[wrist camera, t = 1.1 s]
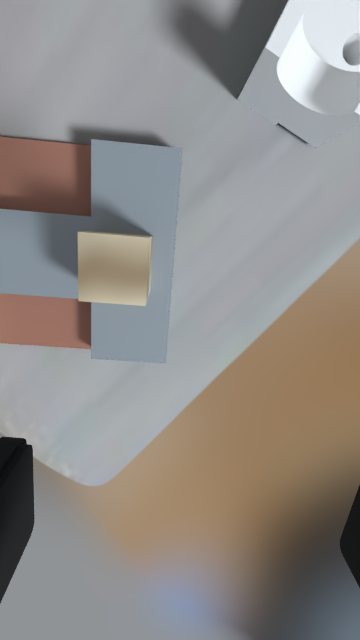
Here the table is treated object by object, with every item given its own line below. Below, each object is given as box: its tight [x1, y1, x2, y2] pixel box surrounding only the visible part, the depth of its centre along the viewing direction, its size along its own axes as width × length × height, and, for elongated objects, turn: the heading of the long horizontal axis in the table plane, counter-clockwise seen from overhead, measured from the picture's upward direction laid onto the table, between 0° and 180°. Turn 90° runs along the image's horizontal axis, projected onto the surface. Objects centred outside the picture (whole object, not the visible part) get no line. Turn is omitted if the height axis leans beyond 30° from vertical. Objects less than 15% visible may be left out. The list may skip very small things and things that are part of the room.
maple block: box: [78, 231, 153, 306], centre depth 22 cm, size 4×4×4 cm
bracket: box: [237, 0, 360, 148], centre depth 19 cm, size 13×7×8 cm, turn 151°
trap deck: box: [0, 137, 182, 363], centre depth 24 cm, size 17×23×4 cm
